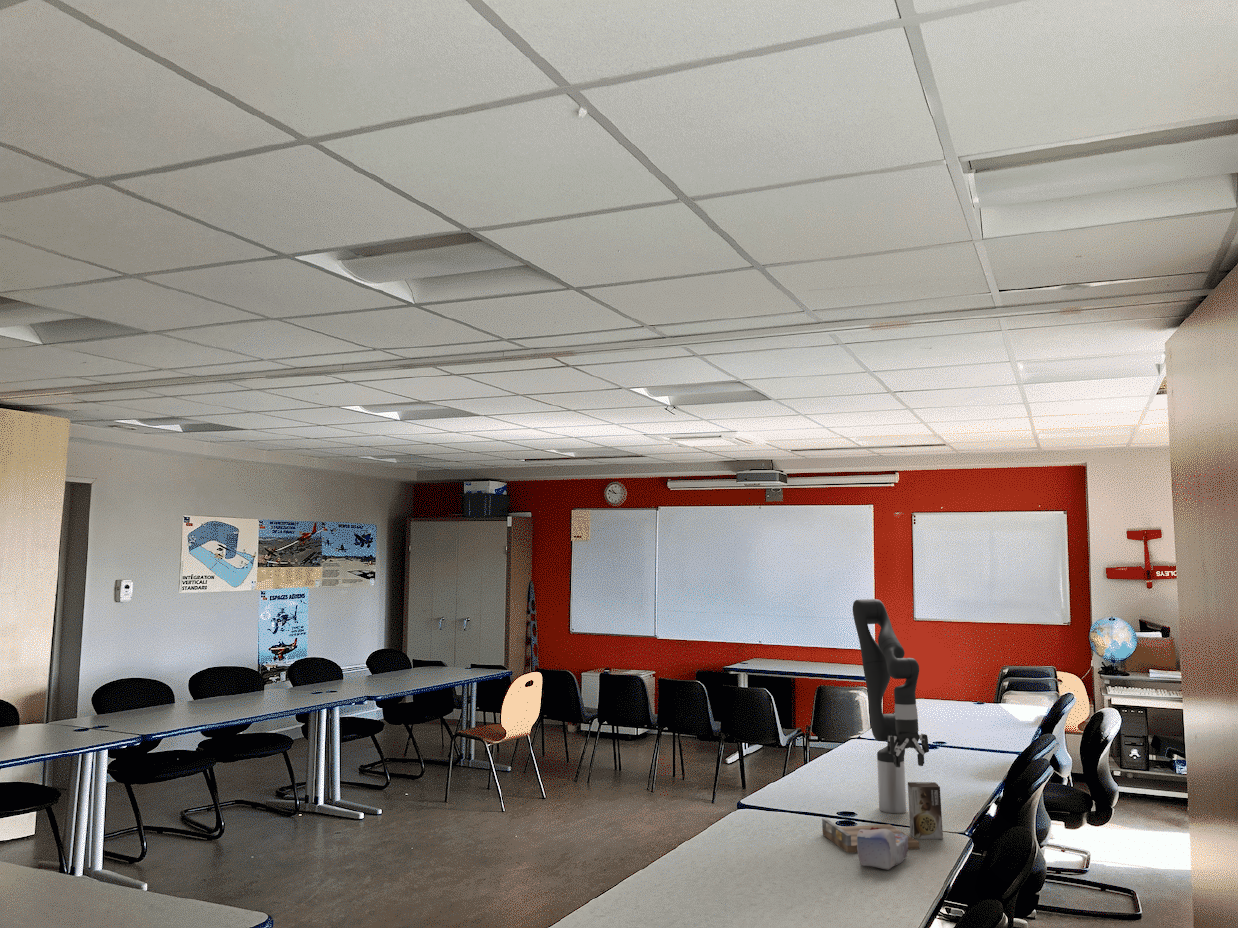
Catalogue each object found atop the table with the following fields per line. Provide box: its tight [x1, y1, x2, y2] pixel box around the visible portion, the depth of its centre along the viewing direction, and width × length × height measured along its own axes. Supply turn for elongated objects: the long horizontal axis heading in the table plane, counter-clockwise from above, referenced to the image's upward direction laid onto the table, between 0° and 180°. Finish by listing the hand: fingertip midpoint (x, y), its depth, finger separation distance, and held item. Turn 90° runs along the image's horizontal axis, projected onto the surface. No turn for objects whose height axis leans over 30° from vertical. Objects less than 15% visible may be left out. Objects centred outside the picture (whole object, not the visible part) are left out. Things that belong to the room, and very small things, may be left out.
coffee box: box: [907, 781, 944, 840], centre depth 297 cm, size 9×6×16 cm
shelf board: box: [821, 817, 920, 854], centre depth 291 cm, size 20×23×5 cm
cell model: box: [857, 827, 909, 870], centre depth 271 cm, size 13×11×20 cm
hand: (909, 766), depth 316 cm, fingers open, 8 cm apart
